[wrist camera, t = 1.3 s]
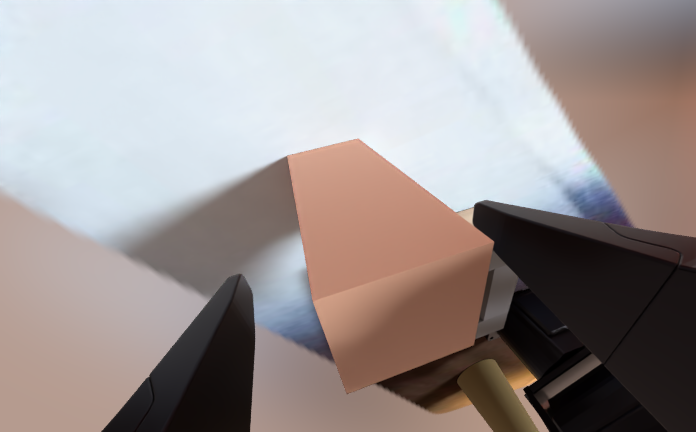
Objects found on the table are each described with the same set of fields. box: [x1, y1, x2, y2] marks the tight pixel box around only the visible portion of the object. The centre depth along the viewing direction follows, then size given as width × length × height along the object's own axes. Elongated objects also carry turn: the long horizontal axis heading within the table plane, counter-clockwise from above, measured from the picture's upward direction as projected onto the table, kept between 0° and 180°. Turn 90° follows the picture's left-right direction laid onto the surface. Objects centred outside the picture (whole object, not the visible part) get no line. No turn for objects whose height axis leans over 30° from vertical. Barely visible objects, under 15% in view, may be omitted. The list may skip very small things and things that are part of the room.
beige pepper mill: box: [457, 359, 539, 432], centre depth 29 cm, size 6×6×11 cm
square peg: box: [287, 139, 494, 394], centre depth 10 cm, size 4×4×10 cm
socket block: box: [457, 207, 518, 339], centre depth 19 cm, size 10×10×4 cm
